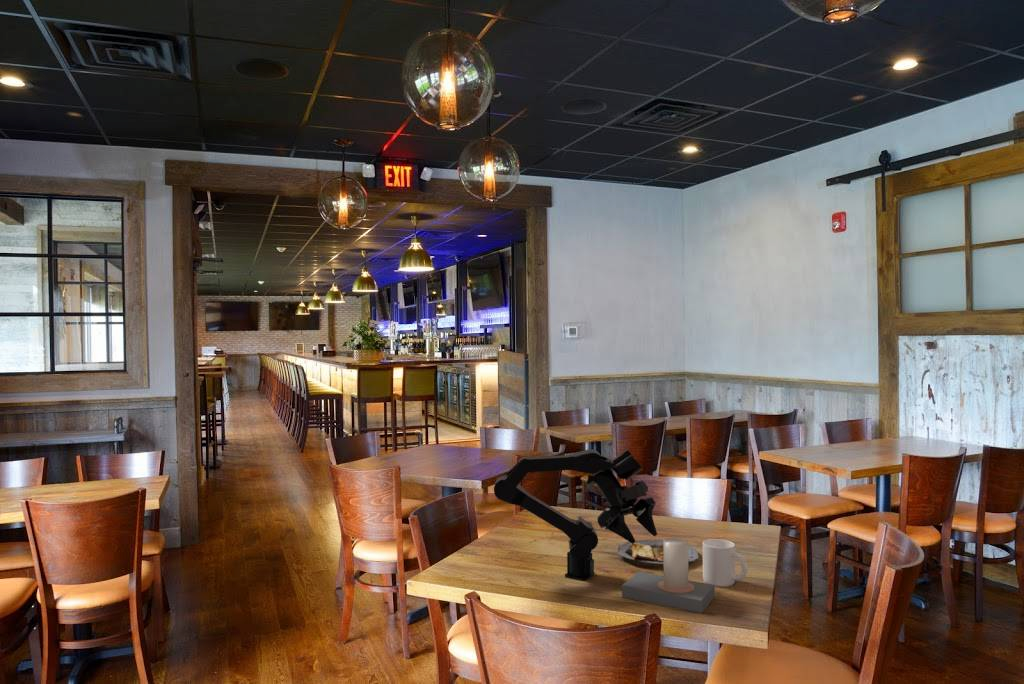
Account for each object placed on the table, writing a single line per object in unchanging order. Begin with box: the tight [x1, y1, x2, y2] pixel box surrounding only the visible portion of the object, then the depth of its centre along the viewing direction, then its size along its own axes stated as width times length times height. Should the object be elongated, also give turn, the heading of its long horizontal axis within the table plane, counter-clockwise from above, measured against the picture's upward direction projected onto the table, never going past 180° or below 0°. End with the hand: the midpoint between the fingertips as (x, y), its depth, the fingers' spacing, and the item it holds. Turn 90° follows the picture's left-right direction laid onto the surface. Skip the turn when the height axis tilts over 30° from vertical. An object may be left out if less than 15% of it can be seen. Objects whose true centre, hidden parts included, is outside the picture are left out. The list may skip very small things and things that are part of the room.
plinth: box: [621, 571, 716, 614], centre depth 170 cm, size 20×12×3 cm, turn 59°
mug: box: [702, 538, 748, 588], centre depth 180 cm, size 12×8×10 cm
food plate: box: [617, 538, 699, 566], centre depth 203 cm, size 25×23×4 cm
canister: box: [663, 537, 689, 590], centre depth 169 cm, size 6×6×11 cm
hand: (645, 538), depth 176 cm, fingers open, 9 cm apart
